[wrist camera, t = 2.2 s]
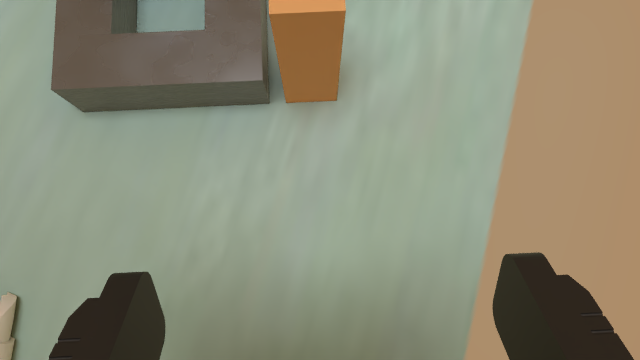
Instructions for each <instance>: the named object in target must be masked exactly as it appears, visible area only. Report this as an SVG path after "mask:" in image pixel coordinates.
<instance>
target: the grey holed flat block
mask: <svg viewBox="0 0 640 360" xmlns="http://www.w3.org/2000/svg"><path fill="white" fill-rule="evenodd" d="M136 21H137V0H57V2H56V18H55V35H54V51H53V68H52V84H51V90H52V91H54V92H55V93H57V94H58V95H60V96H61V97H62V98H64V99H65V100H67V101H68V102H70V103H71V104H73V105H74V106H75V107H77V108H78V109H80V110H81V111H83V112H93V111H115V110H137V109H158V108H180V107H202V106H224V105H246V104H268V103H269V76H268V44H267V11H266V0H205V30H191V31H168V32H145V33H136Z"/></svg>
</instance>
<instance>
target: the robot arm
mask: <svg viewBox="0 0 640 360" xmlns="http://www.w3.org/2000/svg"><path fill="white" fill-rule="evenodd" d="M493 316H494V321H495V325H496V328H497V331H498V333H499V335H500V338H501V340H502V343H503V345H504V347H505V350H506V352H507V355H508V357H509V359H510V360H634V359H633V357H632V356H631V355H630V353H629V351H628V350H627V348H626V347H625V345H624V344H623V342H622V341H621V339H620V338H619V336H618V335H617V334H616V333H614V331H613V330H614V329H613V327H612V326H611V324H610V323H609V321H608V320H607V318H606V317H605V316H603V315H602V311H601V309H600V308H599V306H598V305H597V303H596V302H595V300H594V299H593V297H592V296H591V294H590V293H589V291H587V290H586V289H585V288H584V287H582V286H581V285H580V284H579V283H577V282H576V281H575V280H574V279H572V278H571V277H570V276H569V275H556V273H555V272H554V270H553V268H552V267H551V265H550V263H549V262H548V260H547V259H546V257H545V256H544V255H543V254H542V253H519V254H506V255H505V256H504V257H503V260H502V264H501V268H500V273H499V277H498V281H497V285H496V290H495V294H494V299H493ZM164 339H165V319H164V315H163V312H162V309H161V305H160V302H159V299H158V296H157V293H156V290H155V287H154V284H153V281H152V278H151V275H150V274H149V273H148V272H129V273H113V274H112V275H110V277H109V278H108V280H107V282H106V285H105V287H104V289H103V291H102V293H101V295H100V298H88V299H87V300H86V301H85V302H84V303H83V304H82V305H81V306H80V307H79V308H78V309H77V310H76V311H75V312H74V313H73V314H72V315H71V316H70V317H69V318H68V320H67V322H66V324H65V326H64V328H63V330H62V332H61V334H60V336H59V338H58V343H56V344H55V346H54V348H53V350H52V352H51V354H50V355H49V360H159V359H160V355H161V352H162V348H163V344H164Z"/></svg>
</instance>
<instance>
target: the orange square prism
mask: <svg viewBox="0 0 640 360" xmlns="http://www.w3.org/2000/svg"><path fill="white" fill-rule="evenodd" d="M345 12H346V8H345V0H269V16H270V21H271V26H272V31H273V36H274V42H275V47H276V52H277V57H278V63H279V68H280V73H281V78H282V84H283V89H284V94H285V99H286V103H293V102H314V101H336V100H337V91H338V81H339V71H340V61H341V52H342V42H343V32H344V22H345Z"/></svg>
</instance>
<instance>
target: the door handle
mask: <svg viewBox="0 0 640 360" xmlns="http://www.w3.org/2000/svg"><path fill="white" fill-rule="evenodd" d="M16 299H17V296H16V295H13V294H11V293H9V292H7V295H2V297H1V301H0V360H11V357H12V351H13V346H14V341H15V338H13V337H11V336H10V335H11V330H12V325H13V319H14V313H15V306H16Z"/></svg>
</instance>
